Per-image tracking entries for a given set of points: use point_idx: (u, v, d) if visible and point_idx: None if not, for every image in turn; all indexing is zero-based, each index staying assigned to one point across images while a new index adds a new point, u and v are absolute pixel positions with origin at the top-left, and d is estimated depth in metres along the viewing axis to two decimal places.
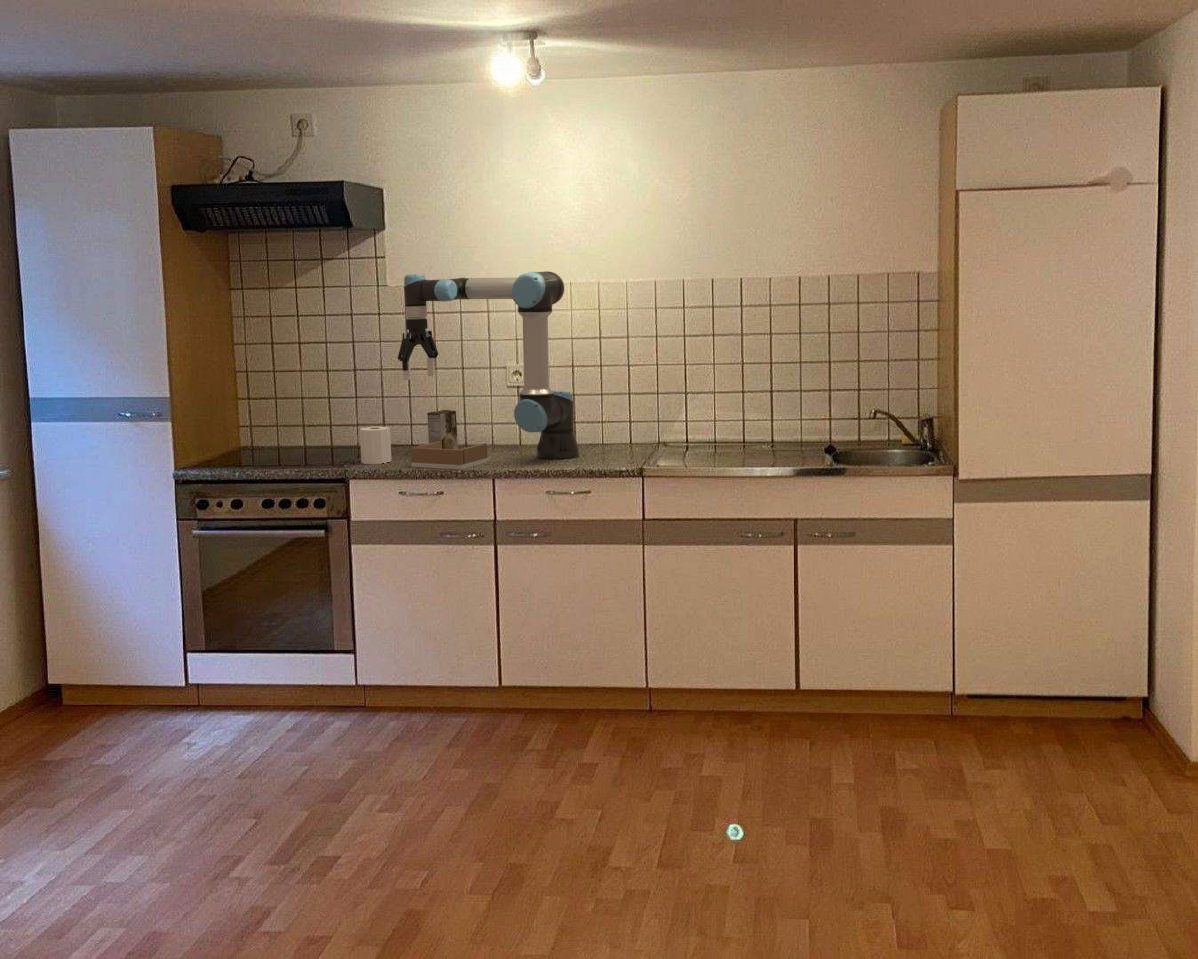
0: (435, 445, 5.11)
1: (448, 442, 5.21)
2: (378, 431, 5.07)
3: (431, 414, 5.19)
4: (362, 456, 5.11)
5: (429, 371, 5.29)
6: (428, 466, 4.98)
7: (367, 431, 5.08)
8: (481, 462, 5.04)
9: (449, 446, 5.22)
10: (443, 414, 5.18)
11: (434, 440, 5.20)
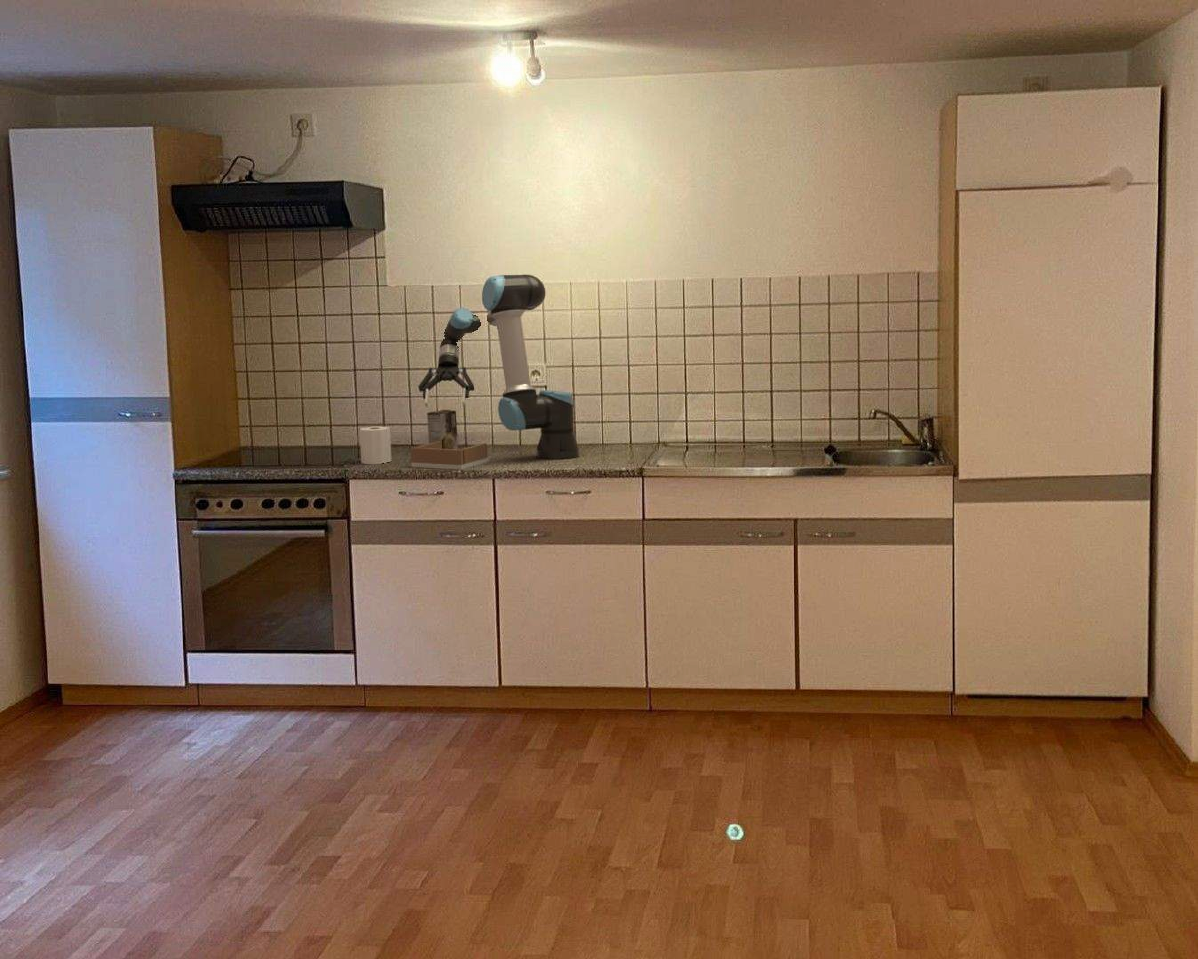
0: (435, 445, 5.11)
1: (448, 442, 5.21)
2: (378, 431, 5.07)
3: (431, 414, 5.19)
4: (362, 456, 5.11)
5: None
6: (428, 466, 4.98)
7: (367, 431, 5.08)
8: (481, 462, 5.04)
9: (449, 445, 5.22)
10: (443, 414, 5.18)
11: (434, 440, 5.20)
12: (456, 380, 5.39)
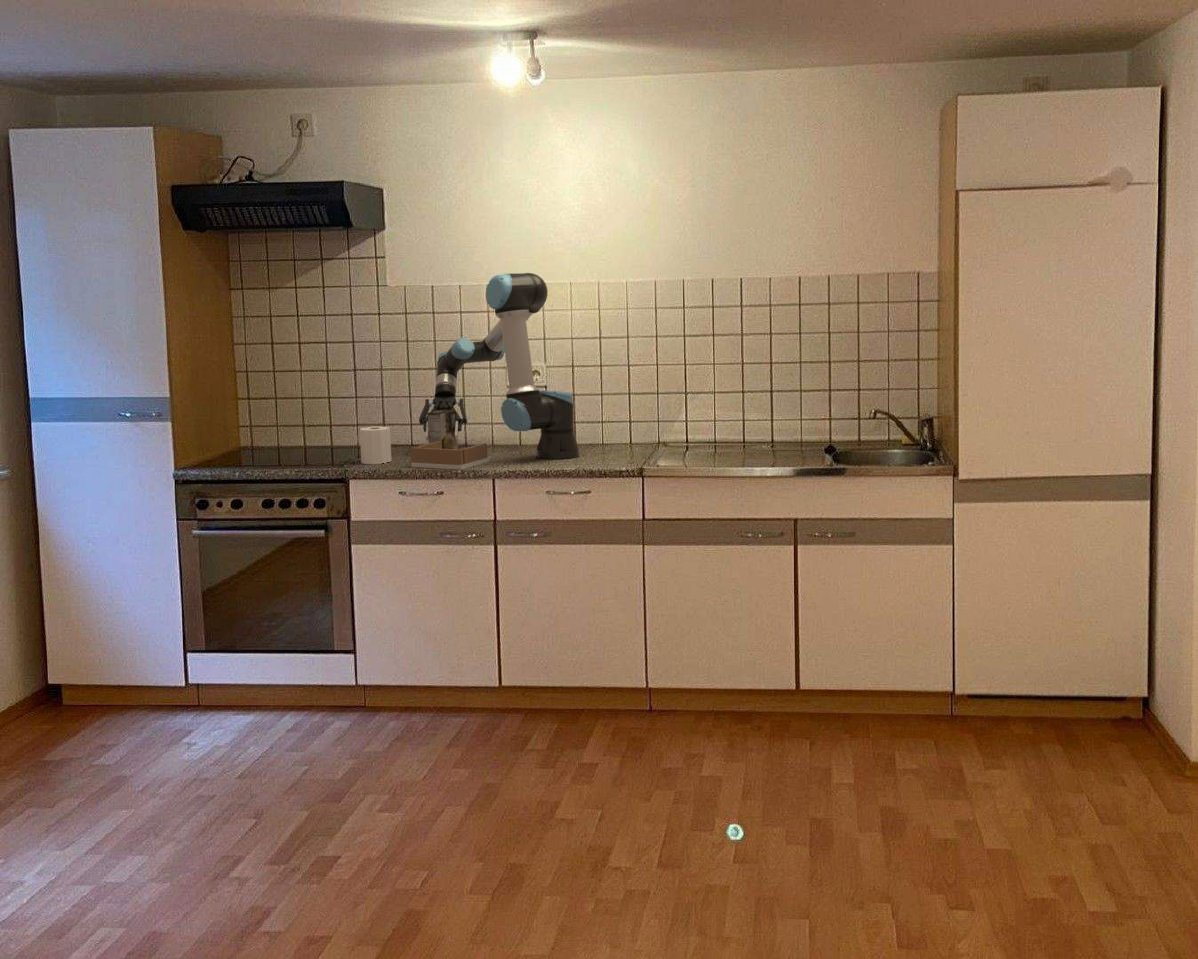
0: (435, 445, 5.11)
1: (448, 442, 5.21)
2: (378, 431, 5.07)
3: (431, 414, 5.19)
4: (362, 456, 5.11)
5: None
6: (428, 466, 4.98)
7: (367, 431, 5.08)
8: (481, 462, 5.04)
9: (449, 446, 5.22)
10: (443, 414, 5.18)
11: (434, 440, 5.20)
12: None
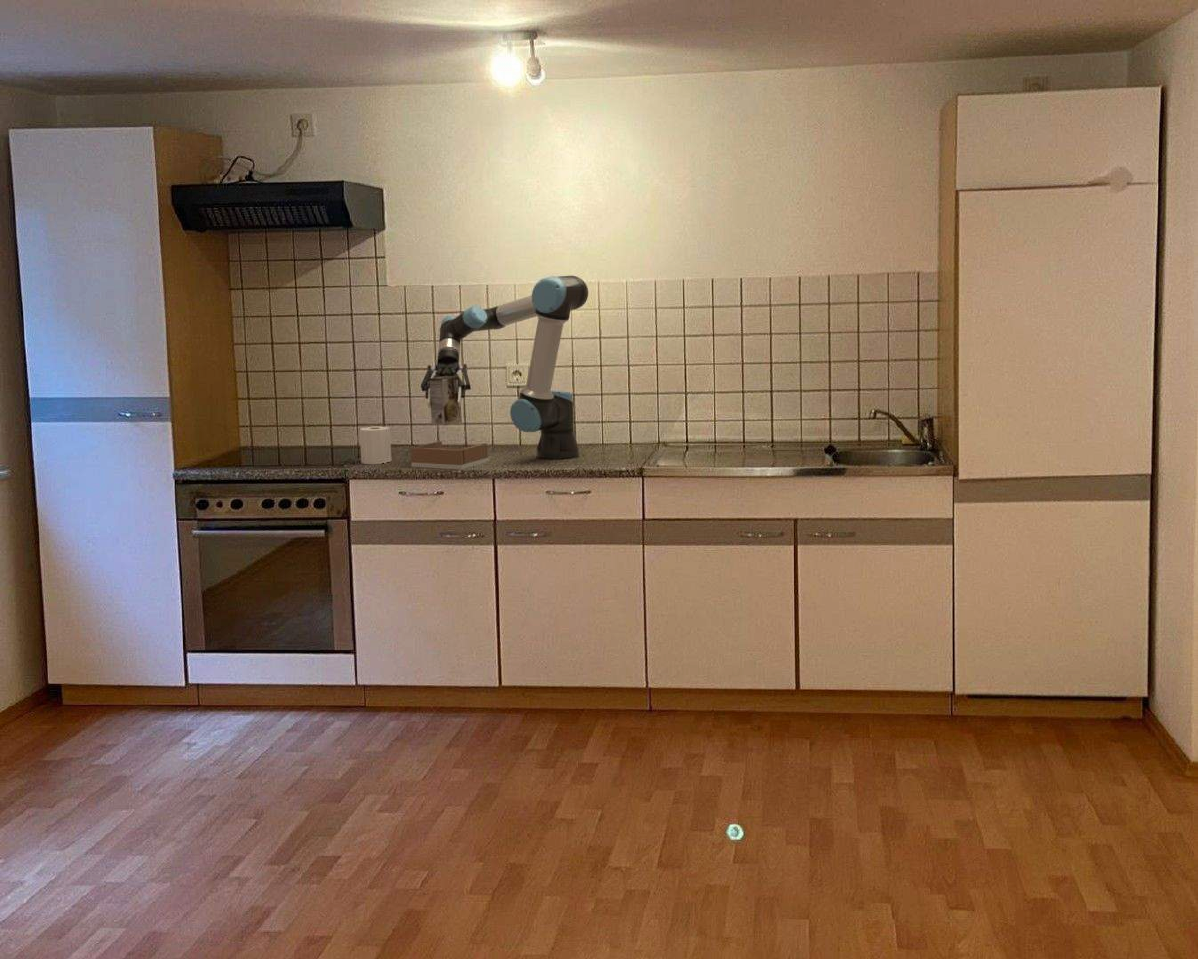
0: (435, 445, 5.11)
1: (451, 409, 5.01)
2: (378, 431, 5.07)
3: (433, 380, 4.99)
4: (362, 456, 5.11)
5: None
6: (428, 466, 4.98)
7: (367, 431, 5.08)
8: (481, 462, 5.04)
9: (452, 413, 5.02)
10: (445, 380, 4.98)
11: (436, 407, 5.00)
12: None
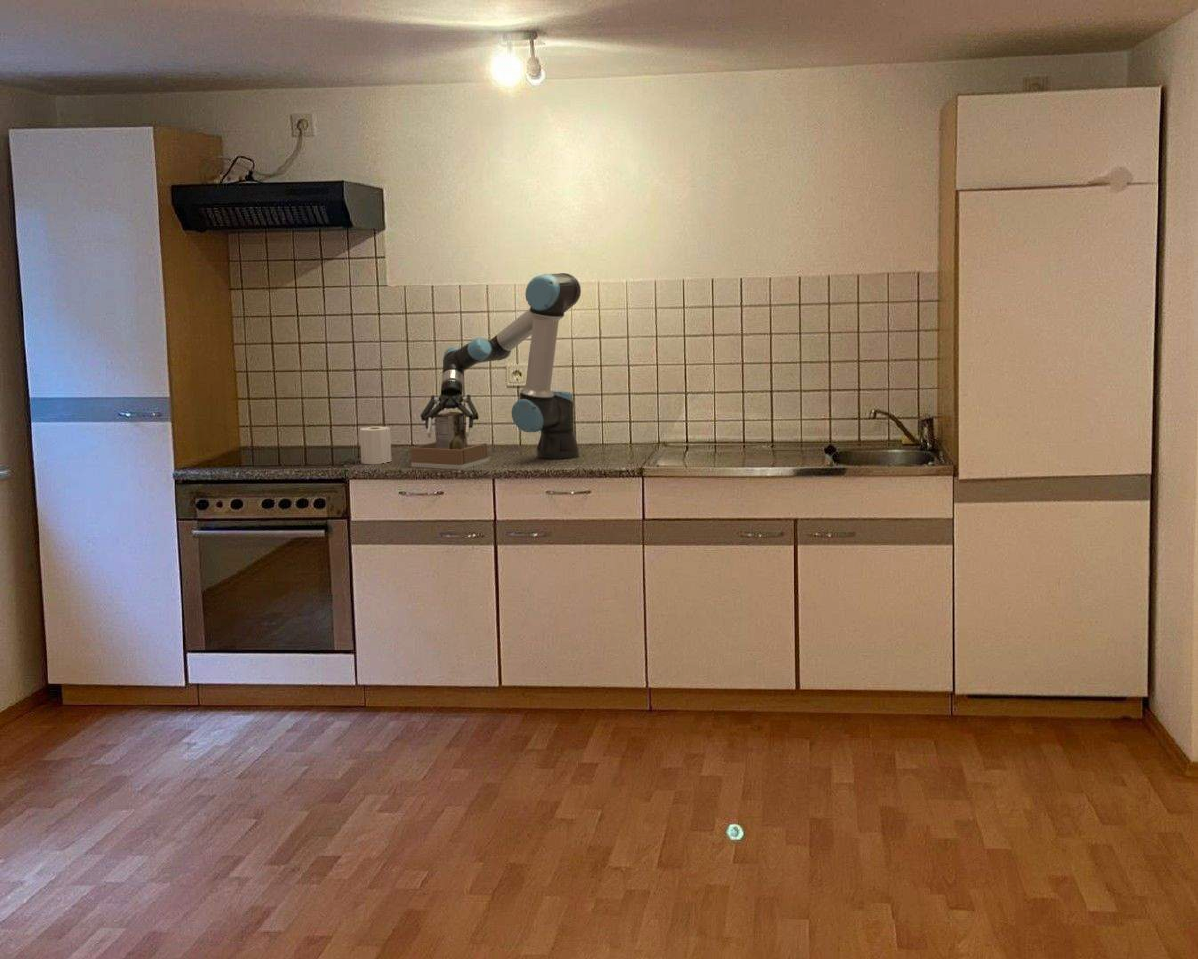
0: (435, 445, 5.11)
1: (456, 445, 5.01)
2: (378, 431, 5.07)
3: (439, 416, 4.99)
4: (362, 456, 5.11)
5: None
6: (428, 466, 4.98)
7: (367, 431, 5.08)
8: (481, 462, 5.04)
9: (457, 449, 5.02)
10: (451, 416, 4.98)
11: (442, 443, 5.00)
12: (460, 408, 5.07)
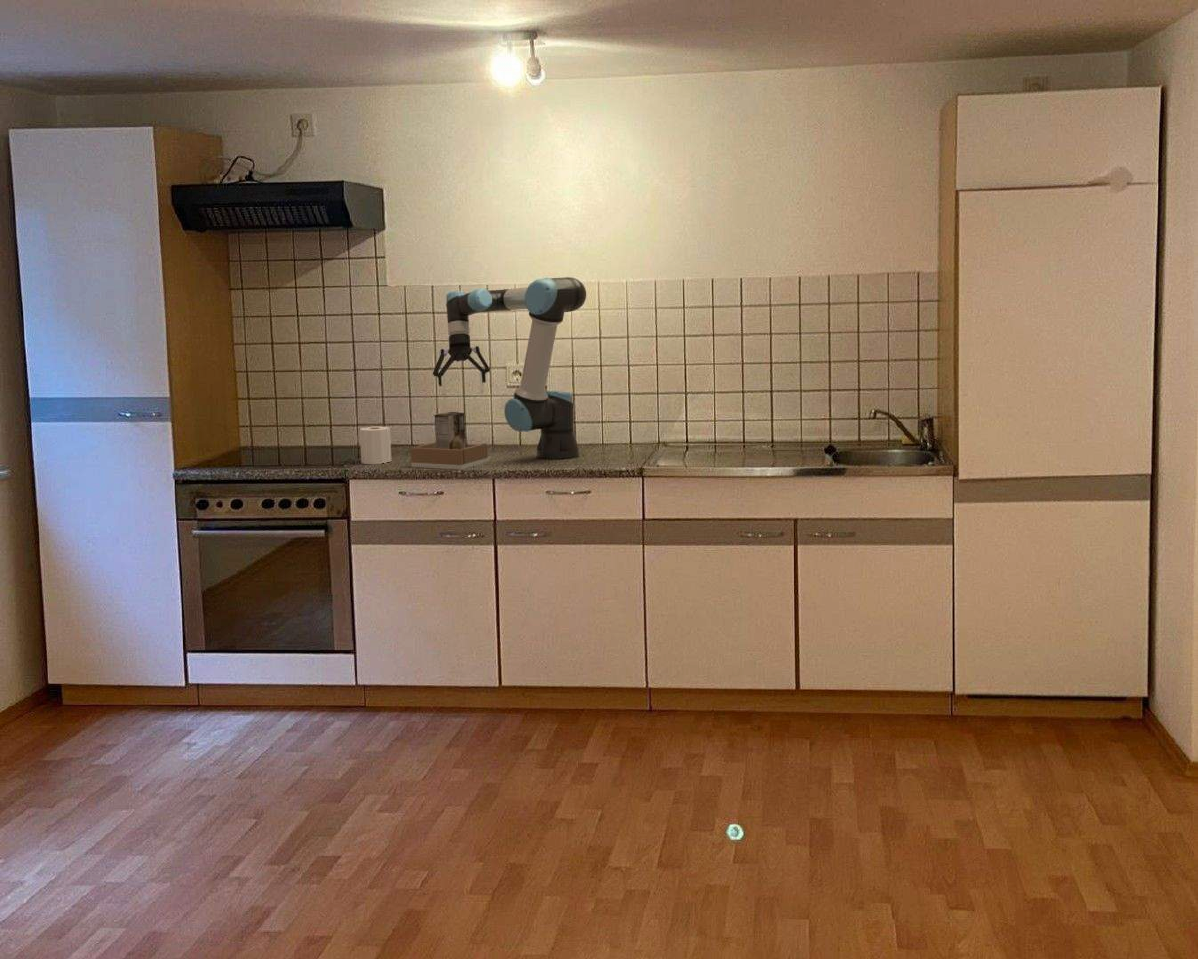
0: (435, 445, 5.11)
1: (456, 445, 5.01)
2: (378, 431, 5.07)
3: (439, 416, 4.99)
4: (362, 456, 5.11)
5: None
6: (428, 466, 4.98)
7: (367, 431, 5.08)
8: (481, 462, 5.04)
9: (457, 449, 5.02)
10: (451, 416, 4.98)
11: (442, 443, 5.00)
12: (470, 361, 5.22)
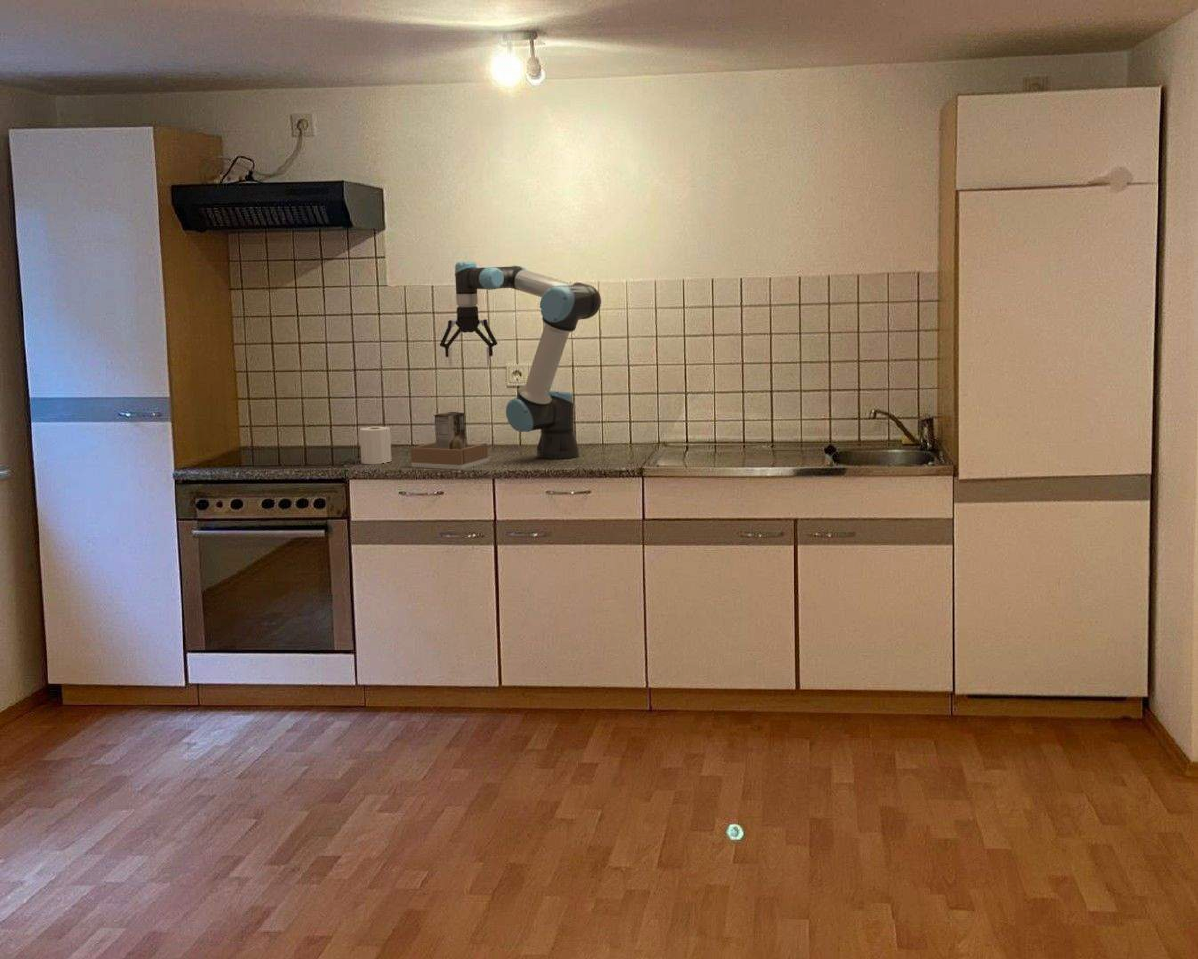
0: (435, 445, 5.11)
1: (456, 445, 5.01)
2: (378, 431, 5.07)
3: (439, 416, 4.99)
4: (362, 456, 5.11)
5: None
6: (428, 466, 4.98)
7: (367, 431, 5.08)
8: (481, 462, 5.04)
9: (457, 449, 5.02)
10: (451, 416, 4.98)
11: (442, 443, 5.00)
12: (478, 334, 5.20)
